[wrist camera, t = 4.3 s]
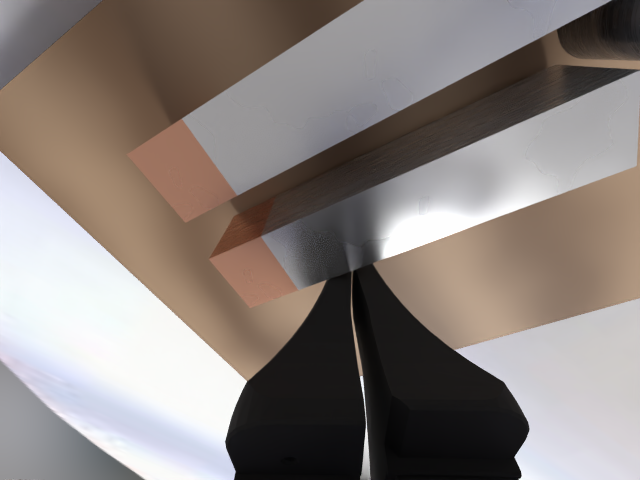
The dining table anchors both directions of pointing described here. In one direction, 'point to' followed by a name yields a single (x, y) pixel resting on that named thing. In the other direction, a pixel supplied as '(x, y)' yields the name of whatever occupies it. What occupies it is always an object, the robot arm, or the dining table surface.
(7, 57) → the dining table surface
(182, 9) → the board
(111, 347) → the dining table surface
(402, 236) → the tong arm
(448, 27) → the tongs fixed half
